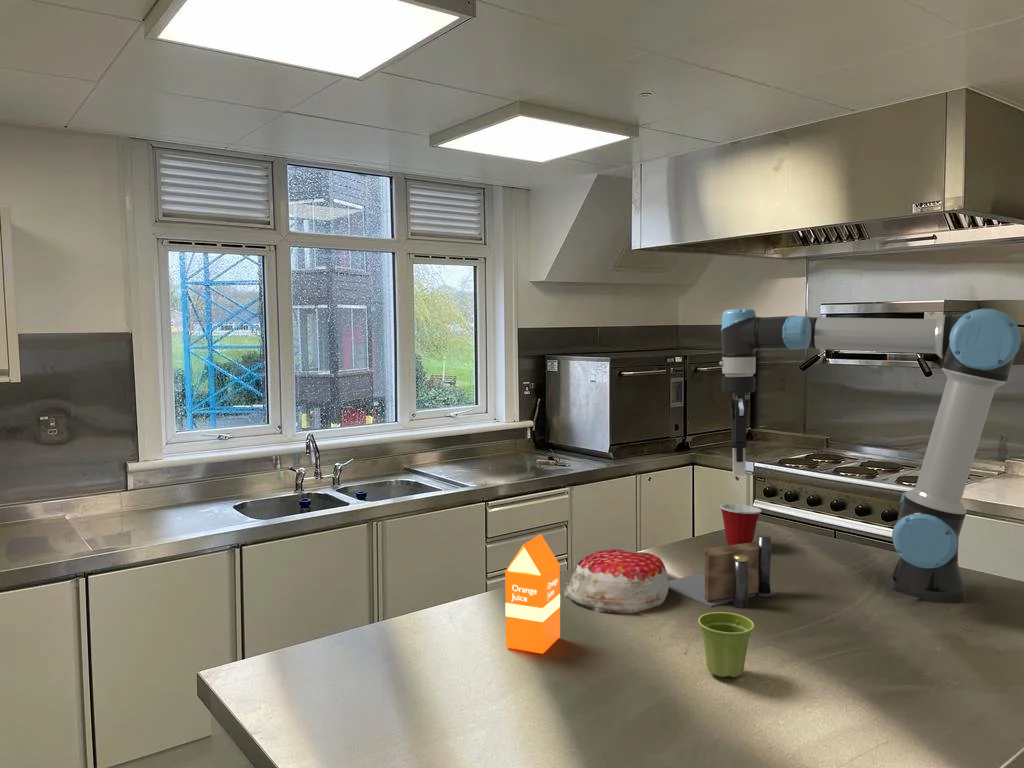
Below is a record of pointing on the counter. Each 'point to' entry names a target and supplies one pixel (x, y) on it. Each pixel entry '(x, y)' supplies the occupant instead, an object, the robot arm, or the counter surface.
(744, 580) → the salt and pepper shakers
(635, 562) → the strawberry shortcake
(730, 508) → the plastic cup
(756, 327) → the robot arm
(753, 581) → the gate
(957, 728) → the counter surface
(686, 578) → the rubber mat
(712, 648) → the plant pot
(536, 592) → the orange juice
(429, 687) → the counter surface
